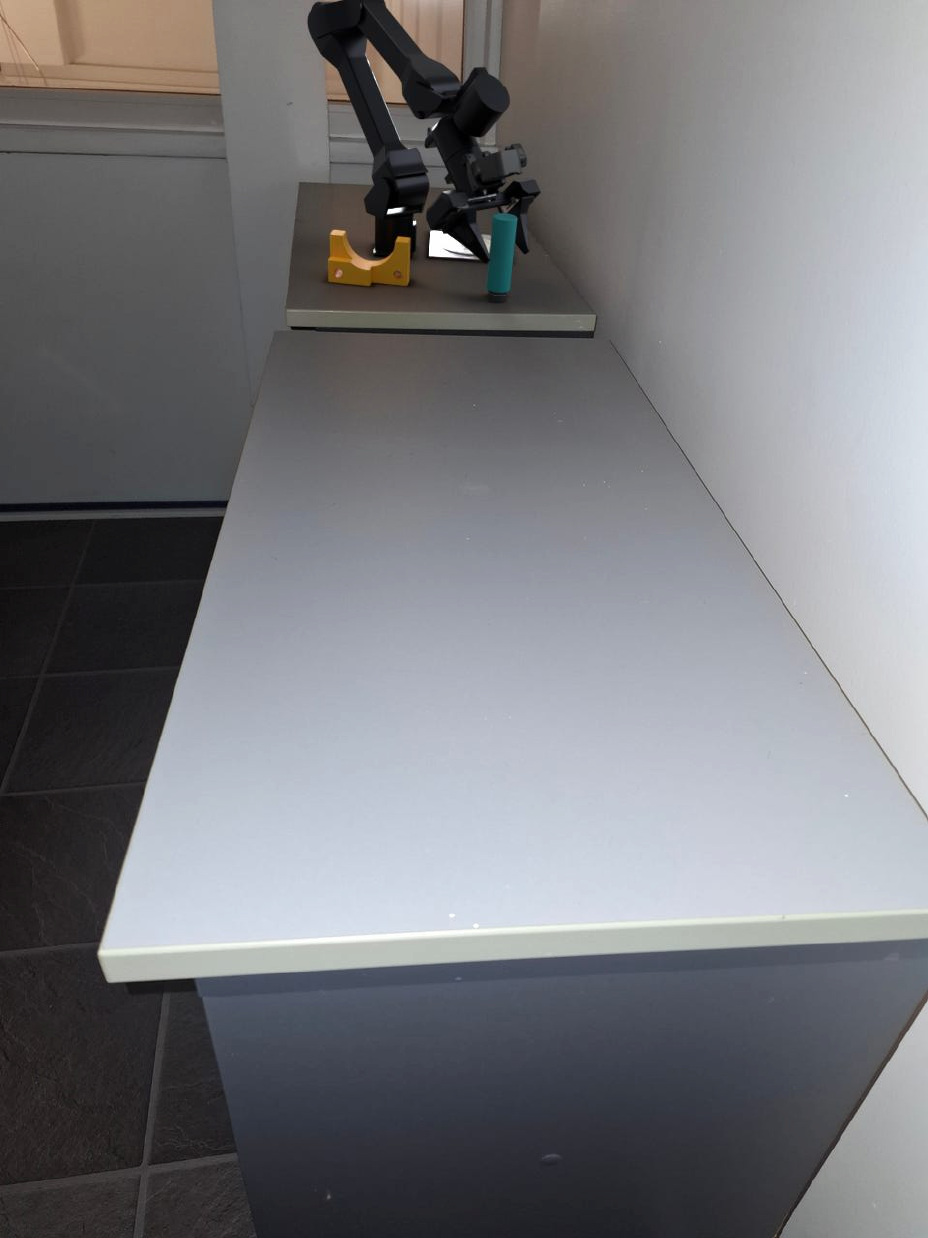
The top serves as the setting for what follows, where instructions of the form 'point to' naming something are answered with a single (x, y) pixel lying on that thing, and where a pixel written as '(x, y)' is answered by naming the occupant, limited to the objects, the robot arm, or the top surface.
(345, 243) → the pipe clamp
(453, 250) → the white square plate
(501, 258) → the dot marker
